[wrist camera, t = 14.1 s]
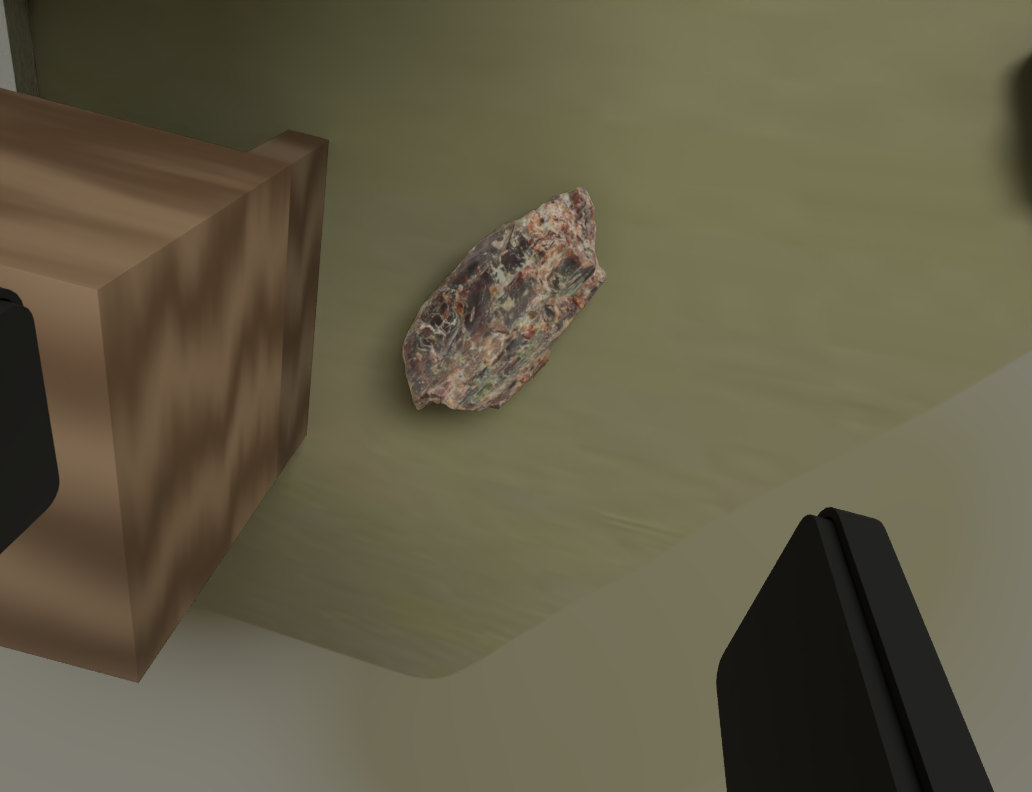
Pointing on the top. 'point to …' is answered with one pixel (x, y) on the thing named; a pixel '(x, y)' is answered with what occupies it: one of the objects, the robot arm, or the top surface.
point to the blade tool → (17, 49)
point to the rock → (504, 307)
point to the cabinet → (151, 363)
